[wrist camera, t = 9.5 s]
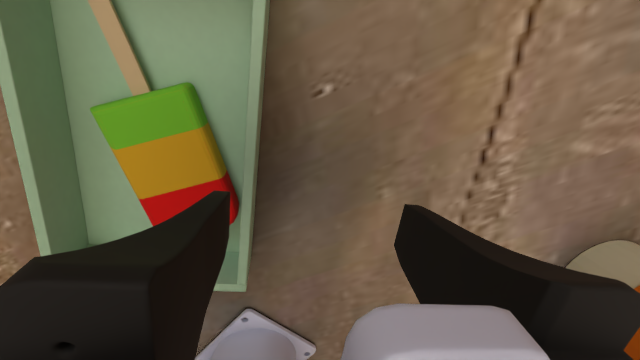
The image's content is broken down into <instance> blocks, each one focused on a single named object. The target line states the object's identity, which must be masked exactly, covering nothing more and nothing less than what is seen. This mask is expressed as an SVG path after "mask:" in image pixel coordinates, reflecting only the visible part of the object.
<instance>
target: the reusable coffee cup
mask: <svg viewBox="0 0 640 360" xmlns="http://www.w3.org/2000/svg"><path fill="white" fill-rule="evenodd" d="M565 268H568V269H571V270H575V271H579V272H584V273H588V274H593V275H598V276H602V277H607V278H611V279H616V280H619V281H622V282H624V283H626V284H627V285H629V286H630V287H631V288H633V289H634V290H636V291H637V292H639V293H640V245H638V244H635V243H633V242H630V241H626V240H615V241H608V242H605V243H601V244H598V245H596V246H594V247H591V248H589V249H588V250H586V251H584V252H583V253H581V254H580V255H578V256H577V257H576V258H575V259H573V260H572V261H571V262H570V263H569V264H568V265H567V266H566V267H565ZM623 351H625V352H626V353H627V354H628V355H629V356H630V357H631V358H632V359H633V360H640V328H639V329H638V330H637V332H636V333H635V335H634V336H633V337H632V339H631V340H630V342H629V343H628V344H627V346H626V347H625V349H624V350H623Z"/></svg>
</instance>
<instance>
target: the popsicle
mask: <svg viewBox="0 0 640 360" xmlns="http://www.w3.org/2000/svg"><path fill="white" fill-rule="evenodd" d="M88 2H89V4H90V7H91V9H92V11H93V13H94V15H95V17H96V19H97V21H98V23H99V25H100V28H101V30H102V32H103V34H104V36H105V38H106V40H107V42H108V44H109V46H110V49H111V51H112V53H113V55H114V57H115V59H116V61H117V63H118V65H119V67H120V70H121V72H122V74H123V76H124V78H125V80H126V82H127V84H128V86H129V88H130V90H131V93H132V95H133V96H131V97H127V98H124V99H120V100H116V101H112V102H108V103H104V104H100V105H97V106H94V107H91V108H90V111H91V113H92V115H93V117H94V118H95V120H96V122H97V124H98V126H99V128H100V130H101V131H102V133H103V135H104V137H105V139H106V141H107V142H108V144H109V146H110V148H111V150H112V152H113V153H114V155H115V157H116V159H117V161H118V163H119V164H120V166H121V168H122V170H123V172H124V174H125V176H126V177H127V179H128V181H129V183H130V185H131V187H132V188H133V190H134V192H135V194H136V196H137V198H138V199H139V201H140V203H141V205H142V207H143V209H144V210H145V212H146V214H147V216H148V218H149V220H150V222H151V223H152V225H153V226H155V225H157V224H159V223H162V222H164V221H166V220H168V219H169V218H171V217H173V216H175V215H176V214H178V213H180V212H182V211H183V210H185V209H187V208H188V207H190V206H192V205H193V204H195V203H196V202H198V201H199V200H201V199H202V198H204V197H205V196H206V195H208V194H209V193H211V192H212V191H214V190H215V191H229V192H230V225H231V224H232V223H233V222H234V221H235V219H236V217H237V215H238V211H239V201H238V197H237V194H236V192H235V189H234V187H233V184H232V182H231V179H230V176H229V174H228V171H227V169H226V166H225V164H224V161H223V159H222V156H221V153H220V151H219V148H218V146H217V143H216V141H215V138H214V136H213V133H212V130H211V128H210V125H209V123H208V120H207V118H206V115H205V113H204V110H203V107H202V105H201V102H200V100H199V97H198V95H197V92H196V90H195V87H194V86H193V85H192V84H191V83H188V82H187V83H181V84H178V85H174V86H170V87H166V88H162V89H158V90H154V91H151V88H150V86H149V84H148V82H147V79H146V77H145V75H144V73H143V70H142V68H141V66H140V64H139V62H138V59H137V57H136V55H135V53H134V50H133V48H132V46H131V44H130V42H129V39H128V37H127V35H126V33H125V30H124V28H123V26H122V24H121V21H120V19H119V17H118V15H117V13H116V10H115V8H114V6H113V4H112V1H111V0H88Z"/></svg>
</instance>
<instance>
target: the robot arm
mask: <svg viewBox="0 0 640 360" xmlns="http://www.w3.org/2000/svg"><path fill="white" fill-rule="evenodd" d="M229 226H230V192H229V191H215V190H214V191H212V192H211V193H209V194H208V195H206V196H205V197H204V198H202V199H201V200H199V201H198V202H196V203H195V204H193V205H192V206H190V207H188V208H187V209H185V210H183V211H182V212H180V213H178V214H176V215H175V216H173V217H171V218H169V219H168V220H166V221H164V222H162V223H159V224H157V225H155V226H153V227H150V228H148V229H146V230H143V231H141V232H138V233H135V234H132V235H129V236H126V237H123V238H121V239H118V240H114V241H111V242H107V243H104V244H100V245H96V246H92V247H88V248H83V249H79V250H74V251H68V252H63V253H57V254H52V255H46V256H40V257H34V258H33V259H32V260H30V261H29V262H28V263H27V264H26V265H25V266H23V267H22V268H21V269H20V270H19V271H17V272H16V273H15V274H14V275H13V276H12V277H10V278H9V279H8V280H7V281H6V282H5V283H3V284H2V285H1V286H0V360H307V359H308V358H309V357H310V356H311V355H313V354H314V353H315V352H316V346H315V345H314V344H312V343H311V342H309V341H307V340H305V339H304V338H302V337H300V336H298V335H297V334H295V333H293V332H291V331H290V330H288V329H286V328H284V327H283V326H281V325H279V324H277V323H276V322H274V321H272V320H270V319H269V318H267V317H265V316H263V315H262V314H260V313H258V312H256V311H255V310H253V309H246V310H244V311H243V312H242V313H241V314H240V315H239V316H238V317H237V318H236V319H235V320H234V321H233V322H232V323H231V324H230V325H229V326H228V327H226V328H225V329H224V330H223V331H222V332H221V333H220V334H219V335H218V336H217V337H216V338H215V339H214V340H213V341H212V342H211V343H210V344H209V345H208V346H207V347H206V348H205V349H204V350H203V351H202V352H200V353H199V354H198V355H197V356H196V351H197V347H198V342H199V338H200V334H201V330H202V325H203V321H204V317H205V313H206V310H207V307H208V304H209V301H210V298H211V295H212V292H213V290H214V287H215V284H216V281H217V278H218V276H219V273H220V270H221V267H222V264H223V261H224V258H225V255H226V250H227V245H228V240H229ZM394 247H395V250H396V253H397V256H398V259H399V262H400V265H401V267H402V269H403V271H404V273H405V275H406V277H407V279H408V281H409V283H410V285H411V287H412V289H413V291H414V293H415V294H416V296H417V298H418V300H419V302H420V304H393V305H387V306H382V307H376V308H374V309H373V310H371V311H370V312H368V313H367V314H365V315H363V316H362V317H360V318H359V319H357V320H356V322H355V323H354V325H353V327H352V328H351V330H350V332H349V333H348V335H347V337H346V340H345V345H344V349H343V354H342V357H341V359H340V360H633V359H632V358H631V357H630V356H629V355H628V354H627V353H626V352H625V351H623V350H624V349H625V347H626V346H627V344H628V343H629V342H630V340H631V339H632V337H633V336H634V335H635V333H636V332H637V330H638V329H639V328H640V293H639V292H637V291H636V290H634V289H633V288H631V287H630V286H629V285H627V284H626V283H624V282H622V281H619V280H616V279H611V278H607V277H602V276H598V275H593V274H588V273H584V272H579V271H575V270H571V269H568V268H564V267H560V266H557V265H553V264H550V263H546V262H543V261H540V260H537V259H534V258H531V257H528V256H525V255H522V254H519V253H517V252H514V251H511V250H509V249H506V248H504V247H502V246H499V245H497V244H494V243H492V242H490V241H488V240H485V239H483V238H481V237H479V236H477V235H475V234H473V233H471V232H469V231H467V230H465V229H464V228H462V227H460V226H458V225H456V224H454V223H452V222H451V221H449V220H447V219H445V218H443V217H442V216H440V215H438V214H436V213H434V212H432V211H430V210H428V209H426V208H424V207H422V206H419V205H407V204H405V206H404V209H403V213H402V217H401V220H400V224H399V228H398V232H397V235H396V239H395V243H394ZM245 318H246V319H245ZM195 356H196V357H195Z"/></svg>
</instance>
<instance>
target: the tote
mask: <svg viewBox="0 0 640 360" xmlns="http://www.w3.org/2000/svg"><path fill="white" fill-rule="evenodd" d="M111 1H112V4H113V6H114V8H115V10H116V13H117V15H118V17H119V19H120V21H121V24H122V26H123V28H124V30H125V33H126V35H127V37H128V39H129V42H130V44H131V46H132V48H133V50H134V53H135V55H136V57H137V59H138V62H139V64H140V66H141V68H142V70H143V73H144V75H145V77H146V79H147V82H148V84H149V86H150V88H151V91H154V90H158V89H162V88H166V87H170V86H174V85H178V84H181V83H187V82H188V83H191V84H192V85H193V86H194V87H195V90H196V92H197V95H198V97H199V100H200V102H201V105H202V107H203V110H204V113H205V115H206V118H207V120H208V123H209V125H210V128H211V130H212V133H213V136H214V138H215V141H216V143H217V146H218V148H219V151H220V153H221V156H222V159H223V161H224V164H225V166H226V169H227V171H228V174H229V176H230V179H231V182H232V184H233V187H234V189H235V192H236V194H237V197H238V201H239V211H238V215H237V217H236V219H235V221H234V222H233V223H232V224H231V225H230V226H229V240H228V245H227V250H226V255H225V258H224V261H223V264H222V267H221V270H220V273H219V276H218V278H217V281H216V284H215V287H214V290H213V291H232V292H246V288H247V281H248V274H249V268H250V261H251V253H252V240H253V226H254V213H255V199H256V186H257V172H258V158H259V145H260V131H261V118H262V104H263V91H264V77H265V64H266V50H267V37H268V23H269V9H270V0H111ZM0 85H1V90H2V94H3V98H4V102H5V107H6V111H7V115H8V119H9V124H10V128H11V132H12V136H13V140H14V145H15V149H16V153H17V157H18V162H19V166H20V170H21V174H22V179H23V183H24V187H25V191H26V196H27V200H28V204H29V208H30V213H31V217H32V221H33V225H34V229H35V234H36V238H37V242H38V246H39V251H40V255H41V256H46V255H52V254H57V253H63V252H68V251H74V250H79V249H83V248H88V247H92V246H96V245H100V244H104V243H107V242H111V241H114V240H118V239H121V238H123V237H126V236H129V235H132V234H135V233H138V232H141V231H143V230H146V229H148V228H150V227H153V225H152V223H151V222H150V220H149V218H148V216H147V214H146V212H145V210H144V209H143V207H142V205H141V203H140V201H139V199H138V198H137V196H136V194H135V192H134V190H133V188H132V187H131V185H130V183H129V181H128V179H127V177H126V176H125V174H124V172H123V170H122V168H121V166H120V164H119V163H118V161H117V159H116V157H115V155H114V153H113V152H112V150H111V148H110V146H109V144H108V142H107V141H106V139H105V137H104V135H103V133H102V131H101V130H100V128H99V126H98V124H97V122H96V120H95V118H94V117H93V115H92V113H91V111H90V108H91V107H94V106H97V105H100V104H104V103H108V102H112V101H116V100H120V99H124V98H127V97H131V96H133V95H132V93H131V90H130V88H129V86H128V84H127V82H126V80H125V78H124V76H123V74H122V72H121V70H120V67H119V65H118V63H117V61H116V59H115V57H114V55H113V53H112V51H111V49H110V46H109V44H108V42H107V40H106V38H105V36H104V34H103V32H102V30H101V28H100V25H99V23H98V21H97V19H96V17H95V15H94V13H93V11H92V9H91V7H90V4H89V2H88V0H0Z"/></svg>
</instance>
